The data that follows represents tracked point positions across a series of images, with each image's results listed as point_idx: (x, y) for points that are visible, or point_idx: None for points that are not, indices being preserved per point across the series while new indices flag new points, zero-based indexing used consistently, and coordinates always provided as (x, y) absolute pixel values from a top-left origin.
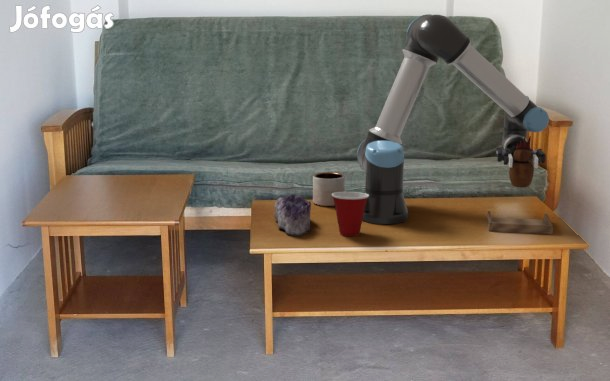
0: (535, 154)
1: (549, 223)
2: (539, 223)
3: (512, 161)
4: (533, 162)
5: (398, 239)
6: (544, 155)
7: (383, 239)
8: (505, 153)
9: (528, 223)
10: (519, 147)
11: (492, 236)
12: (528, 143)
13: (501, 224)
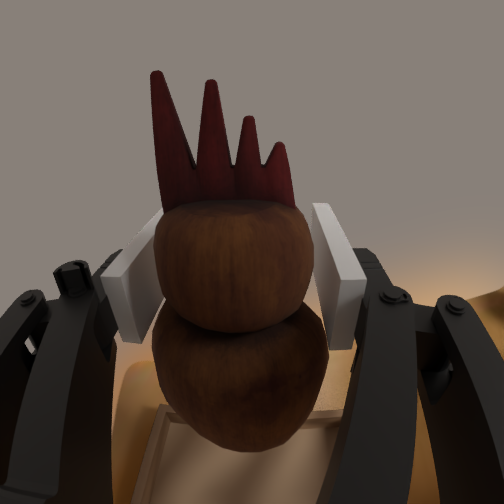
0: (86, 299)
1: (159, 426)
2: (172, 499)
3: (311, 221)
4: (153, 294)
5: (485, 320)
6: (36, 293)
7: (500, 314)
8: (399, 289)
9: (211, 499)
10: (262, 177)
11: (333, 384)
12: (175, 140)
13: (315, 412)
